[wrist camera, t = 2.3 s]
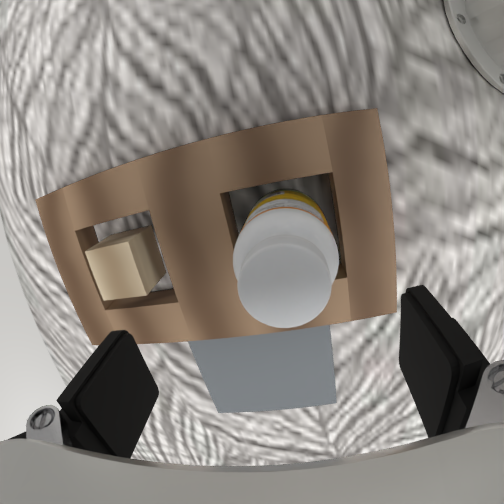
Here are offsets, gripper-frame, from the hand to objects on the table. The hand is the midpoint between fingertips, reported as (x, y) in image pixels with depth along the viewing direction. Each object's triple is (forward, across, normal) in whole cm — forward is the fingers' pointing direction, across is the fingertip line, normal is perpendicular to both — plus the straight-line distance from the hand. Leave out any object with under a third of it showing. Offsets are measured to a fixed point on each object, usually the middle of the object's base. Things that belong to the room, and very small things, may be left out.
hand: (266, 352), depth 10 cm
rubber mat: (+14, +3, +12) cm, 19 cm away
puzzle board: (+13, +5, -1) cm, 14 cm away
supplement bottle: (+13, -1, -1) cm, 13 cm away
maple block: (+14, +11, -1) cm, 18 cm away
